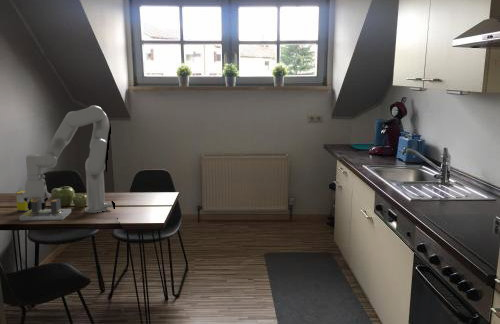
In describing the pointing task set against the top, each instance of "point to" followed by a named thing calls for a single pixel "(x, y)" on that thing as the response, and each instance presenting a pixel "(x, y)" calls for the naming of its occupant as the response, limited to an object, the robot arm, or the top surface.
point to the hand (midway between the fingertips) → (37, 209)
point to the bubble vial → (44, 213)
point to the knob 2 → (55, 206)
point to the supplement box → (22, 202)
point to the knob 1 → (36, 206)
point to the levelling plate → (52, 216)
